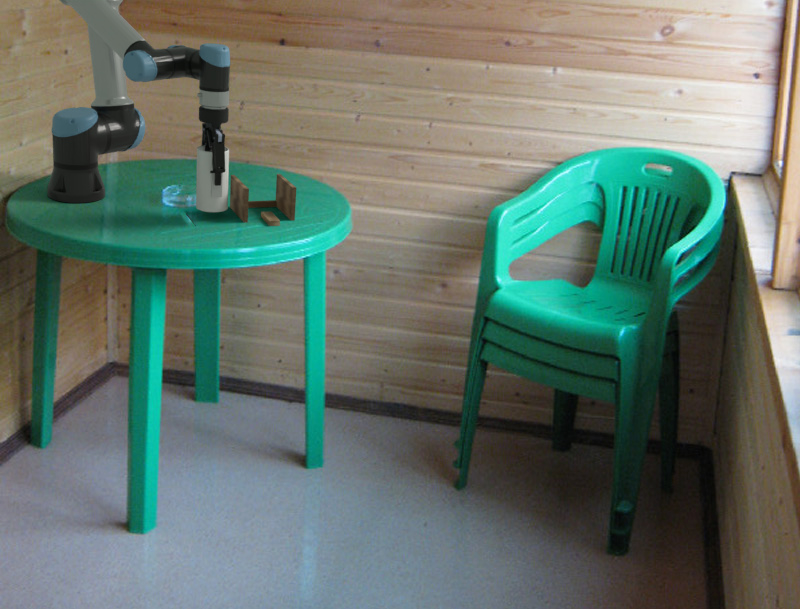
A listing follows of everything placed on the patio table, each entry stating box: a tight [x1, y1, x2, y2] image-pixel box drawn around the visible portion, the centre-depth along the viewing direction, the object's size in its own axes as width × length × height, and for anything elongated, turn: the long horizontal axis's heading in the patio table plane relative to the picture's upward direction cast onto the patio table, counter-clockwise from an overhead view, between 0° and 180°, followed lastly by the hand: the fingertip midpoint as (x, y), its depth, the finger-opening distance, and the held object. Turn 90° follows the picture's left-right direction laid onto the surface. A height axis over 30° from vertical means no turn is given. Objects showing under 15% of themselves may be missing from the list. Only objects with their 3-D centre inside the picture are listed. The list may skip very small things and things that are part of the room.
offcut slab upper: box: [260, 211, 281, 227], centre depth 281 cm, size 3×9×2 cm, turn 22°
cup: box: [195, 144, 230, 213], centre depth 277 cm, size 8×8×16 cm
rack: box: [229, 173, 297, 224], centre depth 285 cm, size 14×14×10 cm
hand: (212, 192), depth 278 cm, fingers closed on cup, 8 cm apart
